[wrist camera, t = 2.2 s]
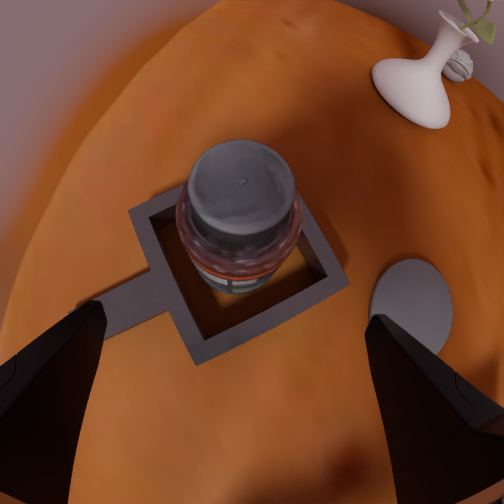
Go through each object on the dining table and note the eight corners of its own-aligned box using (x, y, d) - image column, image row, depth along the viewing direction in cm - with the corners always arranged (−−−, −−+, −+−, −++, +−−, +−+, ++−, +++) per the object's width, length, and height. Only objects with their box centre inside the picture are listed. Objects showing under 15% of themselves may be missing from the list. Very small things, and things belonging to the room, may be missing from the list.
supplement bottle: (243, 203, 22) (259, 99, 11) (291, 264, 21) (355, 201, 10) (179, 246, 21) (135, 166, 10) (226, 312, 20) (224, 298, 9)
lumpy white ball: (430, 73, 31) (450, 45, 24) (433, 59, 33) (450, 34, 26) (459, 97, 30) (481, 71, 24) (460, 80, 32) (479, 57, 25)
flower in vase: (371, 59, 29) (438, -77, 5) (440, 98, 29) (525, -14, 5) (358, 112, 26) (463, -79, 2) (443, 162, 26) (578, 27, 2)
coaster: (394, 385, 19) (399, 387, 19) (349, 292, 21) (354, 291, 20) (458, 326, 21) (463, 326, 20) (422, 244, 23) (426, 241, 22)
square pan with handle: (110, 398, 17) (97, 406, 15) (58, 265, 19) (42, 258, 17) (337, 288, 21) (350, 283, 19) (266, 166, 23) (270, 149, 21)
